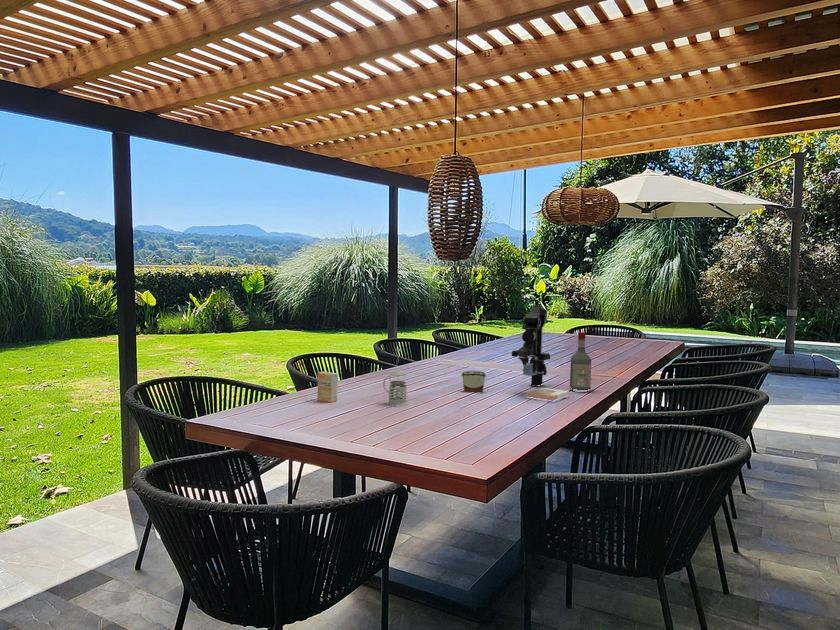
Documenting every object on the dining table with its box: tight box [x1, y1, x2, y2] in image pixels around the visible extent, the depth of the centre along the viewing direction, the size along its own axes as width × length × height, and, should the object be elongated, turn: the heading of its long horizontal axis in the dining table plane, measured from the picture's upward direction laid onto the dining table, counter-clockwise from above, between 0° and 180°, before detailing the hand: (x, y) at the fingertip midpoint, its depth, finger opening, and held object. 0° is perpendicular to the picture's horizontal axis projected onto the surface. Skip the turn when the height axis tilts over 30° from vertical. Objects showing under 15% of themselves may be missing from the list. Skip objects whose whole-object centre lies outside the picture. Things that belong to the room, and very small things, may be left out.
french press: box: [382, 348, 409, 406], centre depth 266 cm, size 10×12×25 cm
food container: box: [460, 370, 487, 393], centre depth 296 cm, size 12×6×10 cm, turn 84°
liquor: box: [569, 331, 592, 390], centre depth 300 cm, size 9×9×30 cm
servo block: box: [522, 362, 538, 377], centre depth 288 cm, size 9×4×6 cm, turn 139°
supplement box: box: [316, 370, 339, 404], centre depth 269 cm, size 8×5×13 cm, turn 62°
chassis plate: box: [526, 387, 570, 400], centre depth 283 cm, size 16×14×3 cm
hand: (530, 372), depth 288 cm, fingers closed on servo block, 4 cm apart
